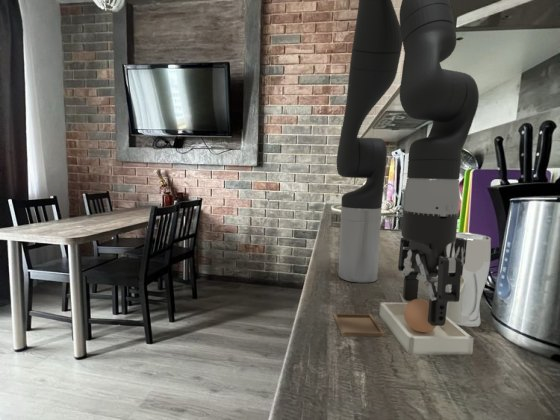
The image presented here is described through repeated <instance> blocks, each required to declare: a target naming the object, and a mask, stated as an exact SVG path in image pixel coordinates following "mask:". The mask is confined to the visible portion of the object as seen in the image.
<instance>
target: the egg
mask: <svg viewBox="0 0 560 420" xmlns="http://www.w3.org/2000/svg"><path fill="white" fill-rule="evenodd" d="M407 303H408V304H407V305H406V307H405V310H404V317H405V320H406V322H407V324H408V325H409V326H410V327H411V328H412V329H414V330H416V331H418V332H429V331H431V330H433V329H434V328H435V327H436V326H432V325H431V324H430V323H429V322H428V310H429V300H427V299H425V298H417V299H414V300H412V301H408V302H407Z"/></svg>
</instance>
